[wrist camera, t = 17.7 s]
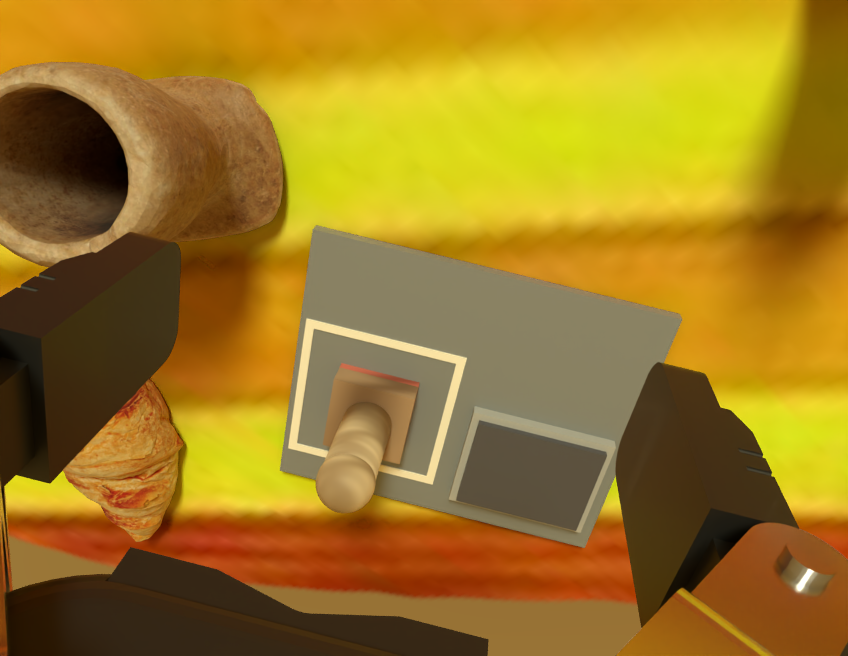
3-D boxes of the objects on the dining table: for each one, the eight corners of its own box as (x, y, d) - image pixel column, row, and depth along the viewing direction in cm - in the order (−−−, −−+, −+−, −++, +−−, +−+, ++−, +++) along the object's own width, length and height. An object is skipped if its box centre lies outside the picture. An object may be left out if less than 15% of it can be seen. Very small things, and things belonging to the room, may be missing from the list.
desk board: (679, 314, 45) (686, 328, 43) (583, 540, 54) (585, 560, 52) (316, 225, 45) (307, 236, 44) (283, 464, 55) (274, 481, 53)
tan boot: (264, 29, 41) (134, 55, 27) (301, 226, 46) (207, 329, 32) (30, 55, 43) (-193, 91, 30) (90, 239, 48) (-77, 340, 35)
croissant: (204, 496, 62) (213, 557, 56) (83, 531, 60) (77, 600, 53) (140, 276, 53) (141, 318, 46) (-8, 306, 50) (-31, 355, 43)
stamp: (419, 382, 49) (394, 477, 40) (404, 445, 51) (377, 548, 42) (341, 363, 49) (298, 453, 40) (330, 427, 52) (287, 525, 42)
